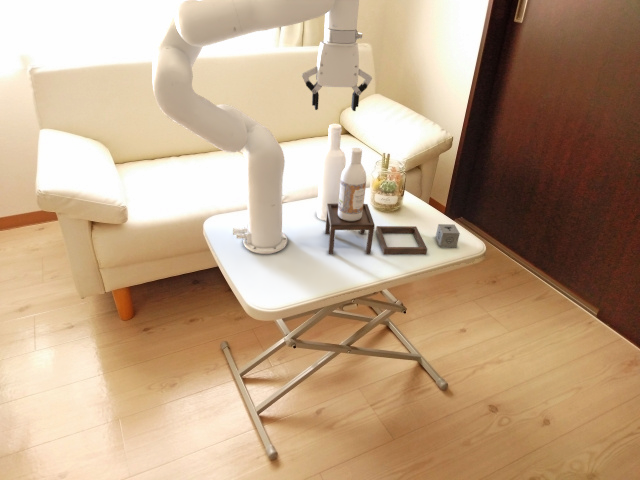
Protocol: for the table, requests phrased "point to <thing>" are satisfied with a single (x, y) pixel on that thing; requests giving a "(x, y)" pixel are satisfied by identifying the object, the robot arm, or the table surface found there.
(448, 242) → the dice cube
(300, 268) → the table surface
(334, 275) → the table surface
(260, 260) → the table surface
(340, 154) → the bottle
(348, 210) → the bath foam
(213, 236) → the table surface
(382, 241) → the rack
